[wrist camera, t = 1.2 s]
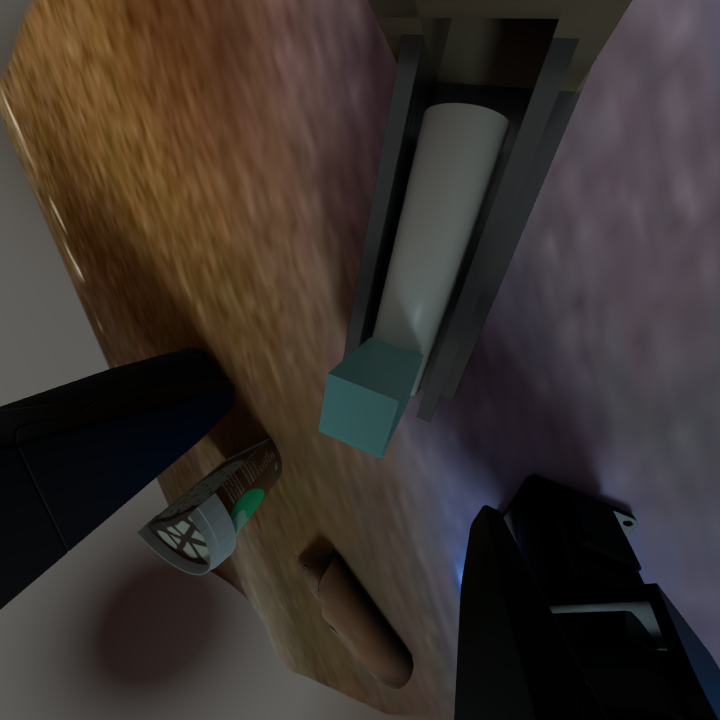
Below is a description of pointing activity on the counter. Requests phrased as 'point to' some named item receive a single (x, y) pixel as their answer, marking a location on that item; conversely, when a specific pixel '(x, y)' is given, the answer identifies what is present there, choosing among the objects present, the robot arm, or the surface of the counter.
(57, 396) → the portable speaker
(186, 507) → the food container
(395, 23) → the socket block
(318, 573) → the sunglasses case
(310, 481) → the counter surface
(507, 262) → the sleeve channel
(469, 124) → the teal angled piece
